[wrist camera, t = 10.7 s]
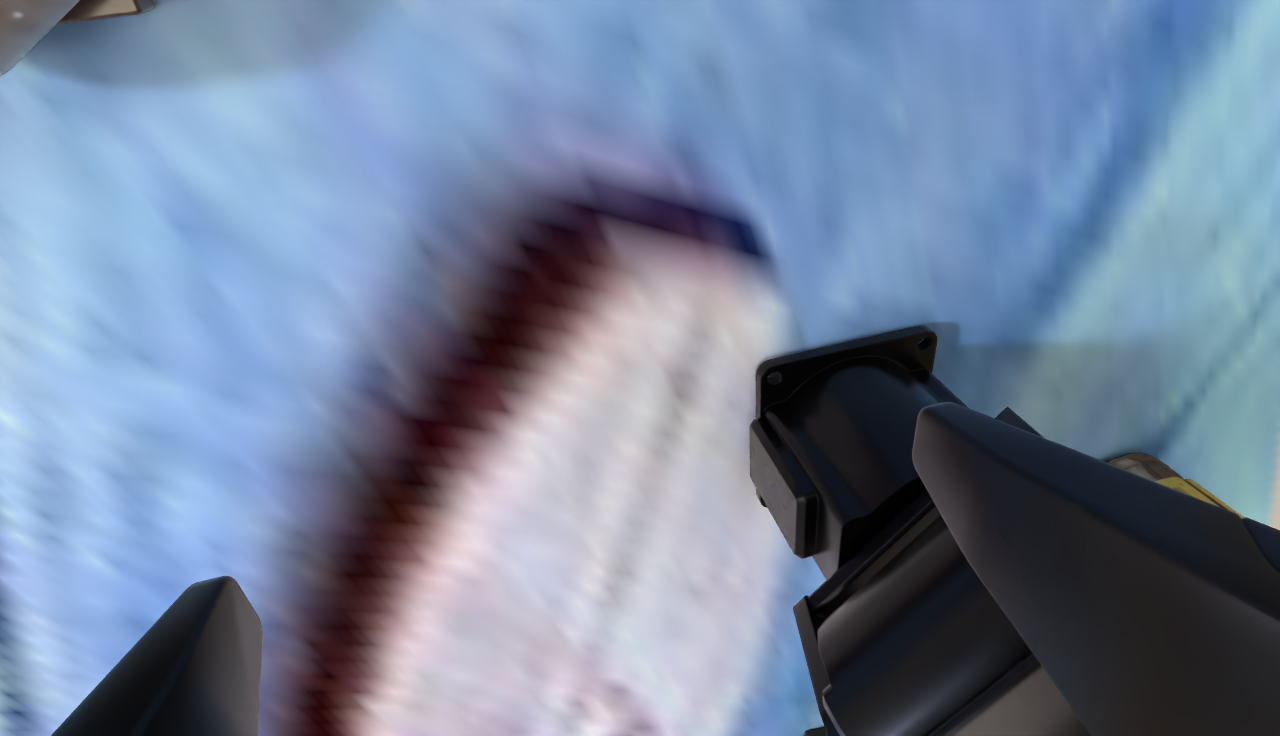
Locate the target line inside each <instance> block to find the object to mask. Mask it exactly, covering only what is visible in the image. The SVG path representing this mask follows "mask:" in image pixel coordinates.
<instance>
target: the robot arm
mask: <svg viewBox="0 0 1280 736" xmlns="http://www.w3.org/2000/svg"><path fill="white" fill-rule="evenodd" d="M923 338H924V339H923ZM922 339H923V341H922V342H921V343H919V342H920V341H921V340H922ZM918 343H919V344H918ZM936 347H937V336H936V334H935V333H934V332H933V331H932V330H930V329H929V328H928V327H926V326H918V327H913V328H909V329H904V330H900V331H895V332H891V333H887V334H882V335H878V336H873V337H869V338H864V339H860V340H855V341H851V342H846V343H842V344H837V345H833V346H828V347H824V348H820V349H815V350H811V351H806V352H802V353H797V354H793V355H788V356H784V357H779V358H775V359H770V360H768V361H765V362H764V363H762V364H761V365H760V366H759V368H758V369H757V372H756V419H753V421H752V423H751V425H750V477H751V479H752V481H753V483H754V484H755V486H756V494H757V497H758V499H759V501H760V503H761V504H762V505H763V506H764V507H767V508H768V509H769V511H770V513H771V514H772V516H773V518H774V520H775V521H776V523H777V525H778V527H779V528H780V530H781V532H782V534H783V535H784V537H785V539H786V541H787V543H788V544H789V546H790V548H791V550H792V551H793V553H794V554H795V555H797V556H798V557H800V558H806V557H810V556H812V557H813V558H814V560H815V562H816V563H817V565H818V567H819V568H820V570H821V572H822V573H823V575H824V577H825V579H826V581H825V582H824V583H823V584H822V585H821V586H820V587H819V588H818V589H817V590H815V591H814V592H813V593H812V594H811V595H810V596H804V597H803V598H802V599H801V600H800V601H799V602H798V603H797V604H796V605H795V606H794V607H793V610H794V614H795V618H796V622H797V626H798V630H799V634H800V638H801V641H802V645H803V649H804V653H805V657H806V661H807V665H808V669H809V673H810V676H811V680H812V684H813V688H814V692H815V696H816V700H817V704H818V708H819V711H820V714H821V717H822V720H823V723H824V726H825V730H826V734H827V736H1280V530H1277V529H1275V528H1272V527H1270V526H1267V525H1265V524H1262V523H1259V522H1257V521H1254V520H1252V519H1249V518H1242V519H1241V517H1240V516H1239V515H1238V514H1236V513H1234V512H1231V511H1229V510H1226V509H1223V508H1221V507H1218V506H1216V505H1213V504H1211V503H1208V502H1206V501H1203V500H1201V499H1198V498H1195V497H1193V496H1190V495H1188V494H1185V493H1183V492H1180V491H1178V490H1175V489H1173V488H1170V487H1167V486H1165V485H1162V484H1160V483H1157V482H1155V481H1152V480H1150V479H1147V478H1144V477H1142V476H1139V475H1137V474H1134V473H1132V472H1129V471H1127V470H1124V469H1122V468H1119V467H1116V466H1114V465H1111V464H1109V463H1106V462H1104V461H1101V460H1099V459H1096V458H1094V457H1091V456H1088V455H1086V454H1083V453H1081V452H1078V451H1076V450H1073V449H1071V448H1068V447H1066V446H1063V445H1060V444H1058V443H1055V442H1053V441H1050V440H1048V439H1046V438H1045V437H1044V436H1042V435H1041V434H1040V433H1039V432H1038V431H1036V430H1035V429H1034V428H1033V427H1032V426H1030V425H1029V424H1028V423H1027V422H1026V421H1024V420H1023V419H1022V418H1021V417H1020V416H1018V415H1017V414H1016V413H1015V412H1014V411H1012V410H1011V409H1010V408H1009V407H1007V408H1005V409H1004V410H1003V411H1002V412H1001V413H1000V414H999V415H998V416H997V417H996V418H995V419H994V418H992V417H989V416H987V415H984V414H981V413H979V412H976V411H974V410H971V409H969V408H968V407H967V406H966V405H965V404H964V403H963V402H962V401H961V400H960V399H959V398H957V397H956V396H955V395H954V394H953V393H952V392H951V391H950V390H949V389H948V388H947V387H946V386H944V385H943V384H942V383H941V382H940V381H939V380H938V379H937V378H936V377H935V376H934V375H933V374H932V371H933V365H934V359H935V353H936ZM773 372H776V374H775V375H774V376H773V377H771V378H768V376H769V375H770V374H771V373H773ZM262 640H263V634H262V626H261V622H260V619H259V617H258V615H257V613H256V612H255V610H254V609H253V607H252V605H251V604H250V602H249V601H248V599H247V597H246V596H245V594H244V593H243V591H242V589H241V588H240V586H239V585H238V583H237V582H236V581H235V579H233V578H232V577H229V576H221V577H217V578H213V579H209V580H205V581H201V582H197V583H195V584H192V585H191V586H190V587H188V588H187V589H186V590H185V591H184V592H183V593H182V595H181V596H180V597H179V598H178V599H177V600H176V601H175V602H174V603H173V604H172V605H171V606H170V608H169V609H168V610H167V611H166V612H165V613H164V614H163V615H162V616H161V617H160V618H159V619H158V620H157V622H156V623H155V624H154V625H153V626H152V627H151V628H150V629H149V630H148V631H147V632H146V633H145V635H144V636H143V637H142V638H141V639H140V640H139V641H138V642H137V643H136V644H135V645H134V646H133V648H132V649H131V650H130V651H129V652H128V653H127V654H126V655H125V656H124V657H123V658H122V659H121V660H120V662H119V663H118V664H117V665H116V666H115V667H114V668H113V669H112V670H111V671H110V672H109V673H108V675H107V676H106V677H105V678H104V679H103V680H102V681H101V682H100V683H99V684H98V685H97V686H96V687H95V689H94V690H93V691H92V692H91V693H90V694H89V695H88V696H87V697H86V698H85V699H84V700H83V702H82V703H81V704H80V705H79V706H78V707H77V708H76V709H75V710H74V711H73V712H72V713H71V715H70V716H69V717H68V718H67V719H66V720H65V721H64V722H63V723H62V724H61V725H60V726H59V727H58V729H57V730H56V731H55V732H54V733H53V734H52V735H51V736H258V720H259V700H260V680H261V660H262Z"/></svg>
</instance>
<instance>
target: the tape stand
mask: <svg viewBox="0 0 1280 736" xmlns="http://www.w3.org/2000/svg"><path fill="white" fill-rule="evenodd" d="M154 8H155V3H154V1H153V0H80V1H79V2H78V3H77V4H76V5H75V6H74V7H73V8H72V9H71V10H70V11H69V12H68V13H67V14H66V15H65V16H64V17H63V18H62V19H61V20H60V21H59V22H58V23H57V24H56V25H59V24H67V23H74V22H82V21H90V20H98V19H106V18H113V17H121V16H129V15H137V14H141V13H144V12H147V11H150V10H153V9H154Z"/></svg>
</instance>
